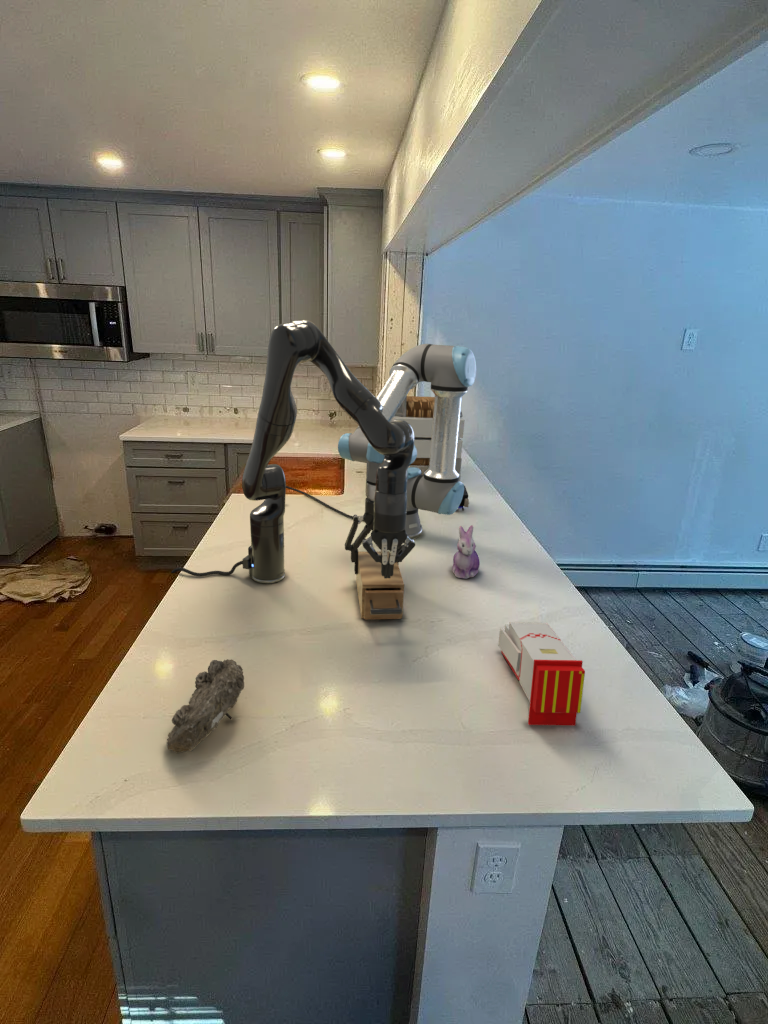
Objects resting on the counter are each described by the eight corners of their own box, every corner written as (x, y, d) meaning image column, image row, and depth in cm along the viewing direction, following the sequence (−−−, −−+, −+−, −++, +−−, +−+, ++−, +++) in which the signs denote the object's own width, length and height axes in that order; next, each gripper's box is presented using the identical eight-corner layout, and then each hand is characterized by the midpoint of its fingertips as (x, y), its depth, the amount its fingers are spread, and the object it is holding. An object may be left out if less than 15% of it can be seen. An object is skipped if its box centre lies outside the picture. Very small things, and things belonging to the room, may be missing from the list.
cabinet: (402, 617, 146) (404, 584, 143) (361, 618, 145) (362, 584, 141) (392, 581, 165) (394, 551, 162) (356, 581, 164) (357, 551, 160)
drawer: (404, 631, 138) (406, 603, 135) (366, 632, 137) (367, 604, 134) (392, 584, 161) (393, 559, 159) (359, 584, 160) (359, 560, 157)
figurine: (462, 582, 166) (466, 535, 161) (443, 568, 174) (447, 522, 169) (488, 576, 170) (493, 530, 165) (468, 563, 179) (472, 518, 173)
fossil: (192, 660, 117) (244, 628, 112) (224, 691, 120) (276, 661, 115) (142, 746, 98) (202, 712, 93) (182, 779, 101) (242, 748, 96)
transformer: (382, 463, 289) (386, 382, 275) (445, 464, 293) (451, 384, 279) (390, 482, 257) (394, 392, 243) (460, 483, 261) (468, 394, 247)
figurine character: (468, 516, 224) (463, 500, 237) (471, 498, 221) (465, 483, 234) (452, 515, 224) (447, 499, 237) (453, 498, 220) (449, 482, 234)
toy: (544, 607, 134) (594, 667, 105) (539, 659, 137) (586, 732, 108) (493, 606, 134) (529, 666, 105) (489, 658, 137) (523, 731, 107)
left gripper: (362, 514, 125) (360, 584, 131) (421, 514, 127) (416, 583, 133) (360, 503, 132) (358, 570, 138) (416, 503, 134) (411, 569, 140)
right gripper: (336, 502, 147) (335, 578, 155) (424, 502, 150) (418, 577, 157) (335, 493, 154) (334, 566, 162) (419, 493, 157) (414, 566, 164)
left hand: (387, 576), depth 135 cm, fingers closed
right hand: (376, 572), depth 160 cm, fingers closed on cabinet, 11 cm apart
